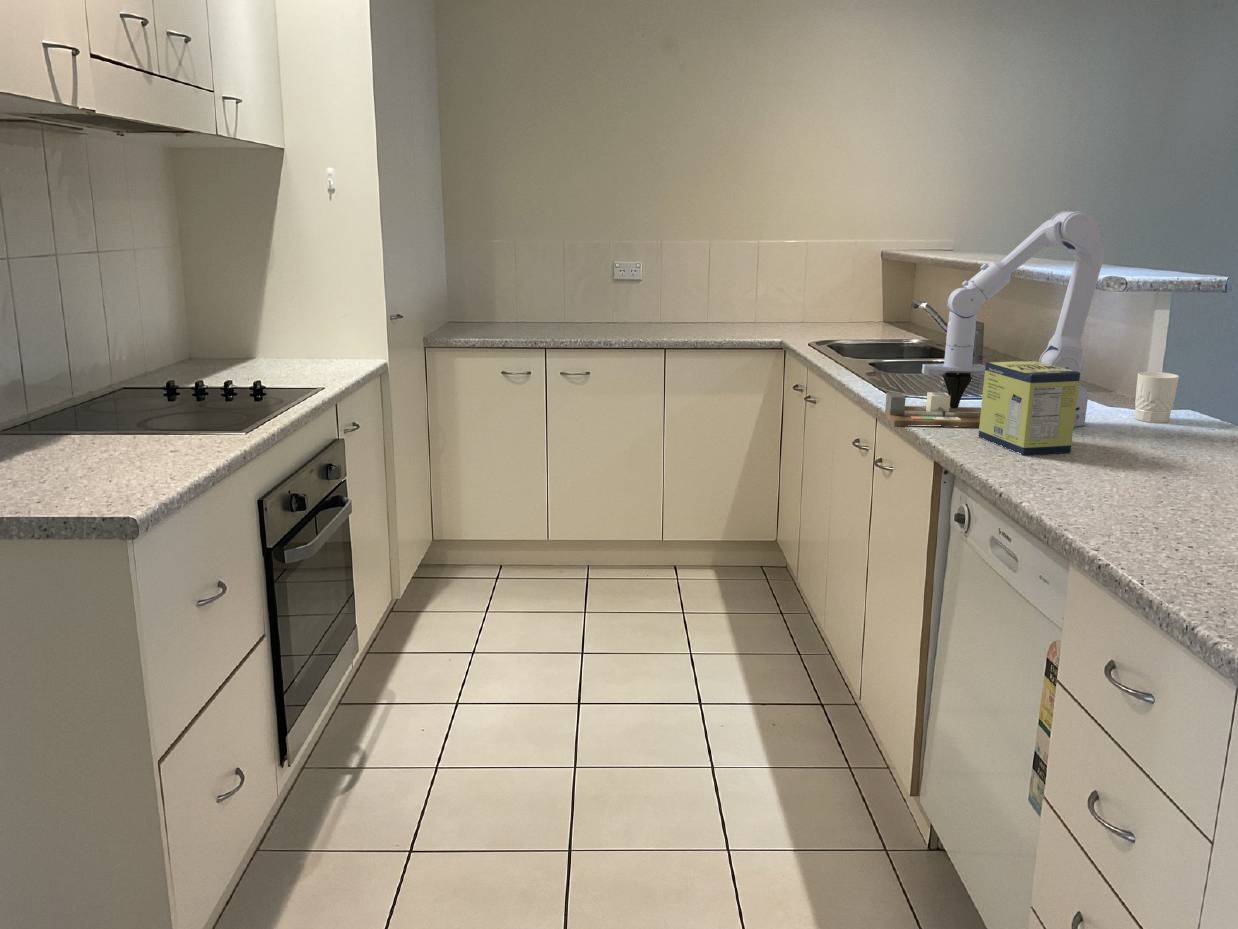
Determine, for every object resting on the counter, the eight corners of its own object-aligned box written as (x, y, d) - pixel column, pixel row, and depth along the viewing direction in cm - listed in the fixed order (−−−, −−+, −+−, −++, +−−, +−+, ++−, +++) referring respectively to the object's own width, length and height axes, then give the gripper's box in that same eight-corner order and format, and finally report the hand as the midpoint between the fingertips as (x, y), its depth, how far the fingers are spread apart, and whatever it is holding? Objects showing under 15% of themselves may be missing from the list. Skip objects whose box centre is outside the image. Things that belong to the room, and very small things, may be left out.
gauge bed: (986, 417, 214) (986, 411, 214) (1000, 428, 204) (1001, 422, 203) (884, 415, 216) (885, 409, 216) (894, 426, 205) (894, 420, 205)
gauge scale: (957, 418, 208) (958, 416, 208) (961, 420, 205) (961, 419, 205) (910, 417, 208) (910, 415, 208) (912, 419, 206) (912, 418, 206)
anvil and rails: (982, 411, 214) (983, 393, 213) (989, 417, 208) (991, 399, 207) (885, 409, 216) (886, 392, 215) (890, 415, 210) (891, 397, 209)
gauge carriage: (944, 410, 214) (946, 392, 213) (953, 418, 206) (955, 398, 205) (925, 410, 214) (927, 391, 213) (934, 417, 206) (935, 398, 205)
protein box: (1022, 434, 198) (1031, 359, 194) (1072, 453, 184) (1082, 372, 180) (976, 437, 196) (984, 360, 192) (1022, 456, 181) (1032, 373, 177)
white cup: (1133, 422, 210) (1140, 376, 208) (1129, 414, 217) (1135, 370, 215) (1175, 425, 208) (1182, 378, 205) (1168, 417, 215) (1175, 372, 212)
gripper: (989, 343, 211) (982, 404, 215) (921, 341, 212) (915, 403, 216) (998, 347, 204) (992, 411, 208) (928, 346, 205) (922, 409, 209)
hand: (953, 407), depth 211 cm, fingers closed
